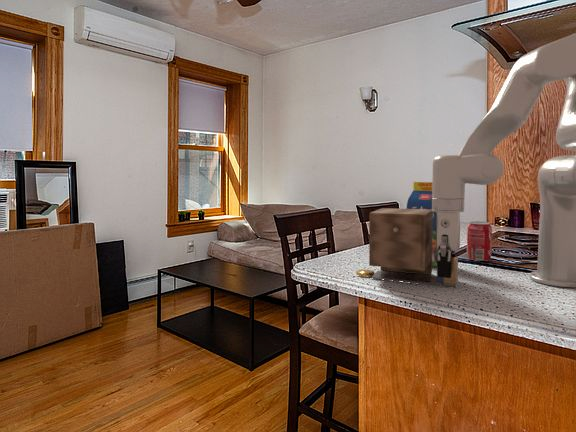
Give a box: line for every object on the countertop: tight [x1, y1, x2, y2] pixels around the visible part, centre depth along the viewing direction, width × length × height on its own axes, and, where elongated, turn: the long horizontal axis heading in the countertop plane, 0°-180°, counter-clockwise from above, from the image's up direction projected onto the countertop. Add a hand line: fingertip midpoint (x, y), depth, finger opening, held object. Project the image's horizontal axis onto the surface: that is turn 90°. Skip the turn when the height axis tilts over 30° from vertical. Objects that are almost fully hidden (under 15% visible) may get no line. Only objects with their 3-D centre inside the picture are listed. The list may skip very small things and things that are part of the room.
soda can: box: [466, 220, 493, 262], centre depth 126 cm, size 7×7×12 cm
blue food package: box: [406, 181, 439, 268], centre depth 123 cm, size 6×12×25 cm, turn 31°
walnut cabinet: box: [368, 207, 433, 276], centre depth 108 cm, size 14×14×18 cm
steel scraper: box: [370, 256, 459, 289], centre depth 106 cm, size 21×7×7 cm, turn 63°
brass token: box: [355, 269, 376, 277], centre depth 112 cm, size 5×5×1 cm
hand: (446, 272), depth 102 cm, fingers open, 9 cm apart
